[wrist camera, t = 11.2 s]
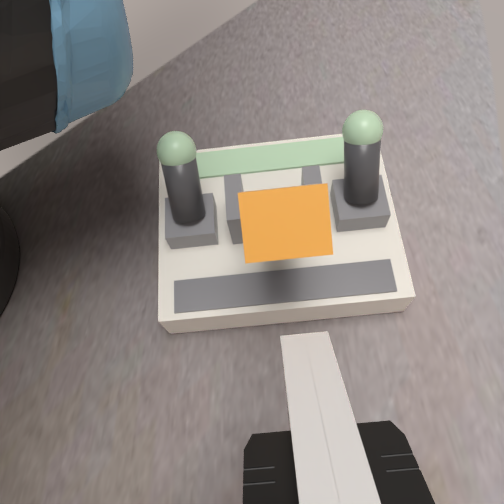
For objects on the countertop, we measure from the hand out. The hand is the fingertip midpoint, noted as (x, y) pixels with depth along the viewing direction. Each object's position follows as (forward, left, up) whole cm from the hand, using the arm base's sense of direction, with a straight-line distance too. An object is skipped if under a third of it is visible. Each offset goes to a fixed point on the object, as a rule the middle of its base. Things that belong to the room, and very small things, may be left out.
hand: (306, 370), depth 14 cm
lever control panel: (-7, +9, -13) cm, 17 cm away
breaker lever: (-7, +9, -9) cm, 14 cm away
